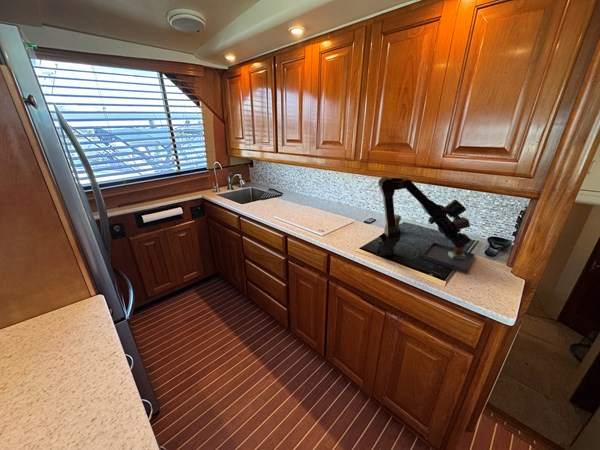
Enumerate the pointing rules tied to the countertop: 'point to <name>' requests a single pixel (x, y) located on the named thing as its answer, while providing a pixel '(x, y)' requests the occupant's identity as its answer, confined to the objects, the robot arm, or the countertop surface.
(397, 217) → the cork
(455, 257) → the brown green handled brush
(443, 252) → the tray
